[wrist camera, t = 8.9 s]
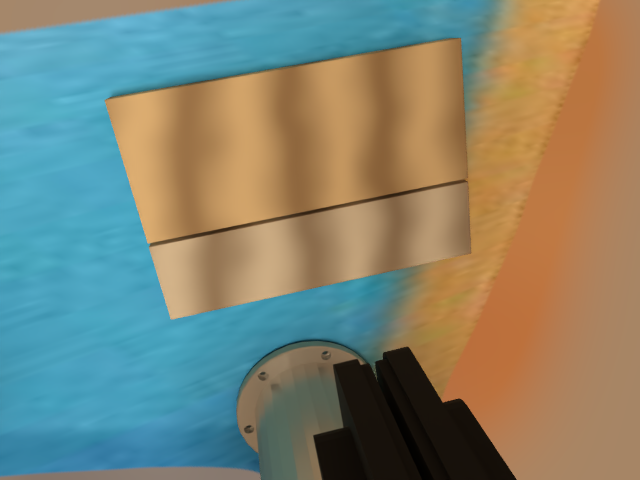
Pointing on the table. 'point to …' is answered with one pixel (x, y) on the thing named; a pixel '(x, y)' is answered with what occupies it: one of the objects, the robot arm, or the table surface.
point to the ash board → (312, 248)
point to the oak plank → (293, 138)
